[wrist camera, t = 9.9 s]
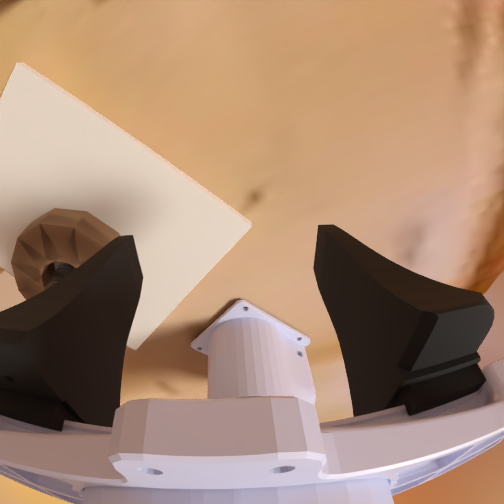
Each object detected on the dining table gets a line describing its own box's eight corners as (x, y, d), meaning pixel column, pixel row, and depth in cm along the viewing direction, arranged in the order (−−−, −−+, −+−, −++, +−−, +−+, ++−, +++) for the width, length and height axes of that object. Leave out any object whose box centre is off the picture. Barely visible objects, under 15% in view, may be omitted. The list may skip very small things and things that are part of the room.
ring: (162, 260, 23) (156, 280, 21) (107, 332, 27) (101, 351, 25) (47, 182, 19) (30, 196, 17) (16, 274, 23) (4, 290, 21)
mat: (250, 221, 23) (251, 226, 22) (136, 344, 30) (135, 350, 29) (22, 62, 14) (16, 62, 13) (-32, 233, 21) (-36, 237, 20)
